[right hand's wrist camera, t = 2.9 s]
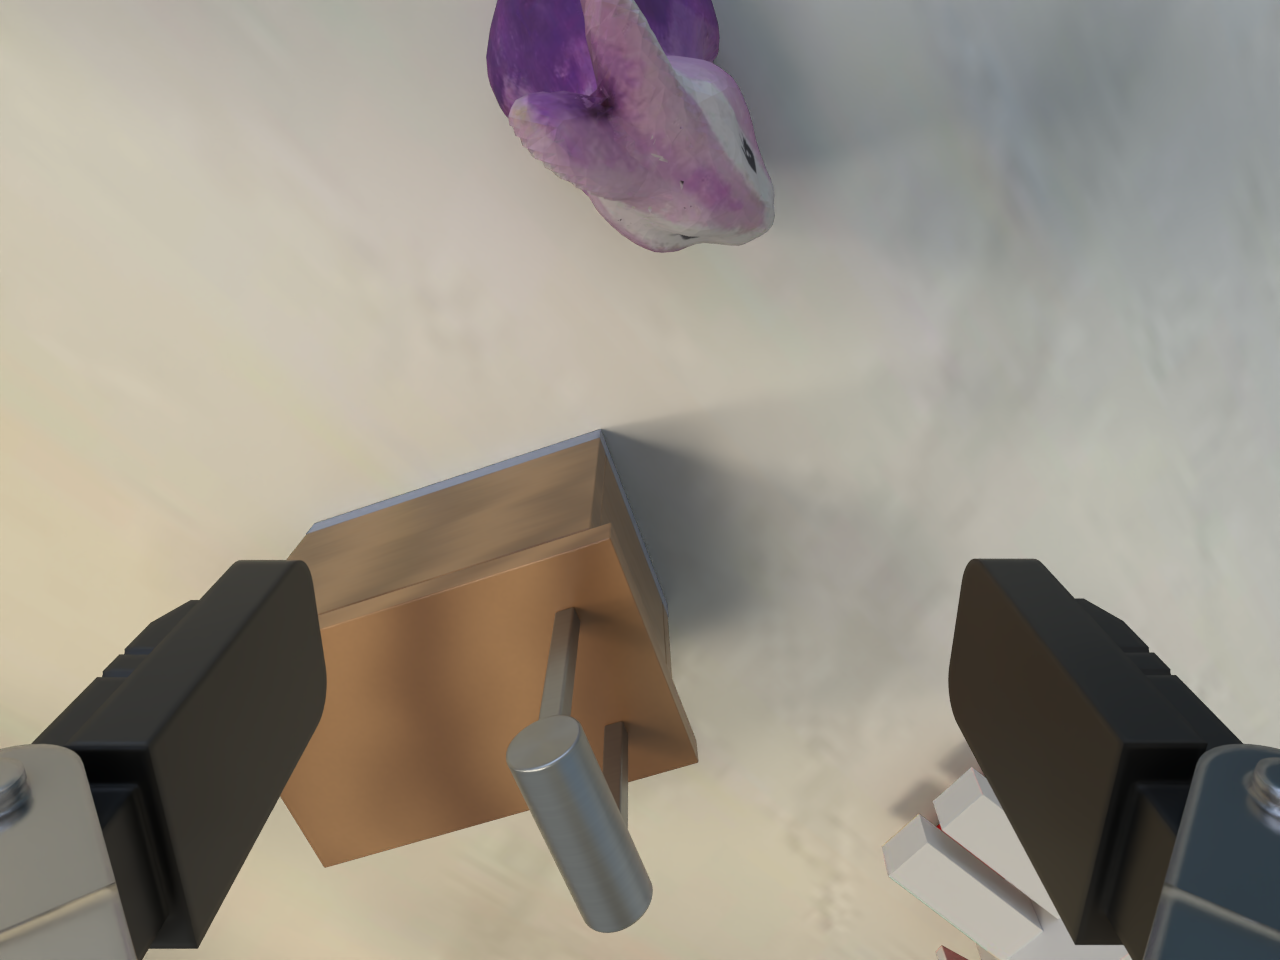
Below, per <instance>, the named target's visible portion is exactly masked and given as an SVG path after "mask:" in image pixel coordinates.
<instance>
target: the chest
mask: <svg viewBox="0 0 1280 960" xmlns="http://www.w3.org/2000/svg"><path fill="white" fill-rule="evenodd" d="M608 523H611V524H612V526H613V529H614V531H615V534H616V536H617V539H618V541H619V544H620V547H621V549H622V552H623V554H624V557H625V559H626V562H627V564H628V567H629V570H630V572H631V575H632V577H633V580H634V582H635V585H636V588H637V590H638V593H639V595H640V598H641V600H642V603H643V605H644V608H645V611H646V613H647V616H648V618H649V621H650V623H651V626H652V629H653V631H654V634H655V636H656V639H657V641H658V644H659V646H660V649H661V652H662V654H663V657H664V659H665V662H666V664H667V667H668V670H669V672H670V675H671V677H672V671H671V656H670V642H669V628H668V605H667V602H666V600H665V597H664V595H663V592H662V589H661V587H660V584H659V581H658V579H657V576H656V573H655V571H654V568H653V565H652V563H651V560H650V558H649V555H648V552H647V550H646V547H645V544H644V542H643V539H642V536H641V534H640V531H639V529H638V526H637V523H636V521H635V518H634V515H633V513H632V510H631V507H630V505H629V502H628V499H627V497H626V494H625V492H624V489H623V486H622V484H621V481H620V478H619V476H618V473H617V470H616V468H615V465H614V463H613V460H612V457H611V455H610V452H609V449H608V447H607V444H606V441H605V439H604V436H603V434H602V431H601V429H599V430H596V431H593V432H590V433H587V434H584V435H581V436H578V437H575V438H572V439H569V440H566V441H563V442H560V443H557V444H554V445H551V446H548V447H545V448H542V449H539V450H536V451H533V452H530V453H527V454H524V455H521V456H518V457H515V458H512V459H508V460H505V461H502V462H499V463H496V464H493V465H490V466H487V467H484V468H481V469H478V470H475V471H472V472H469V473H466V474H463V475H460V476H457V477H454V478H451V479H448V480H445V481H442V482H439V483H436V484H433V485H430V486H427V487H424V488H421V489H418V490H415V491H412V492H409V493H406V494H403V495H400V496H397V497H394V498H391V499H387V500H384V501H381V502H378V503H375V504H372V505H369V506H366V507H363V508H360V509H357V510H354V511H351V512H348V513H345V514H342V515H339V516H336V517H333V518H330V519H327V520H324V521H321V522H318V523H315V524H314V525H313V526H312V527H311V528H310V530H309V531H308V532H307V533H306V536H305V537H304V538H303V540H302V541H301V542H300V543H299V545H298V546H297V547H296V548H295V550H294V551H293V552H292V553H291V555H290V556H289V557H288V558H287V560H302V561H304V562H305V563H306V564H307V566H308V567H309V570H310V572H311V576H312V580H313V586H314V592H315V599H316V606H317V612H318V615H322V614H325V613H328V612H331V611H334V610H337V609H340V608H344V607H347V606H350V605H353V604H356V603H359V602H363V601H366V600H369V599H372V598H375V597H378V596H381V595H385V594H388V593H391V592H394V591H397V590H400V589H403V588H407V587H410V586H413V585H416V584H419V583H422V582H425V581H429V580H432V579H435V578H438V577H441V576H444V575H448V574H451V573H454V572H457V571H460V570H463V569H466V568H470V567H473V566H476V565H479V564H482V563H485V562H488V561H492V560H495V559H498V558H501V557H504V556H507V555H511V554H514V553H517V552H520V551H523V550H526V549H529V548H533V547H536V546H539V545H542V544H545V543H548V542H551V541H555V540H558V539H561V538H564V537H567V536H570V535H574V534H577V533H580V532H583V531H586V530H589V529H592V528H596V527H599V526H602V525H605V524H608Z"/></svg>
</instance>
